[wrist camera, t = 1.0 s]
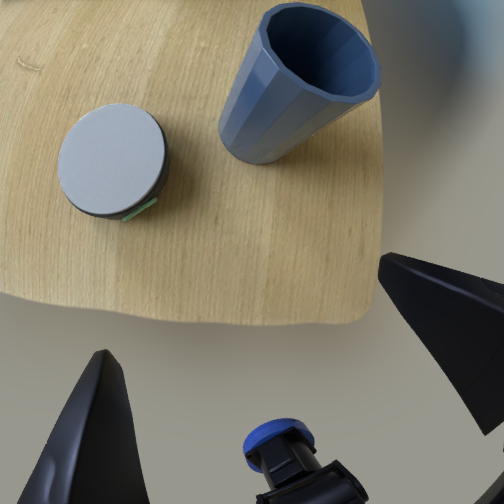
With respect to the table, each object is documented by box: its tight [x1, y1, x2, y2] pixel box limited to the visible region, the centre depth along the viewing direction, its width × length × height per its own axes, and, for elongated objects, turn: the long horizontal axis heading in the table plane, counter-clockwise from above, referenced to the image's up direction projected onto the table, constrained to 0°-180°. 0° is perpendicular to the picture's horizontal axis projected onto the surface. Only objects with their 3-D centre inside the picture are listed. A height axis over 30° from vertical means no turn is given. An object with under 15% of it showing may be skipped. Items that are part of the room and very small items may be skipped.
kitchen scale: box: [58, 104, 169, 222], centre depth 18 cm, size 9×9×4 cm
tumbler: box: [219, 2, 381, 164], centre depth 16 cm, size 7×7×13 cm
